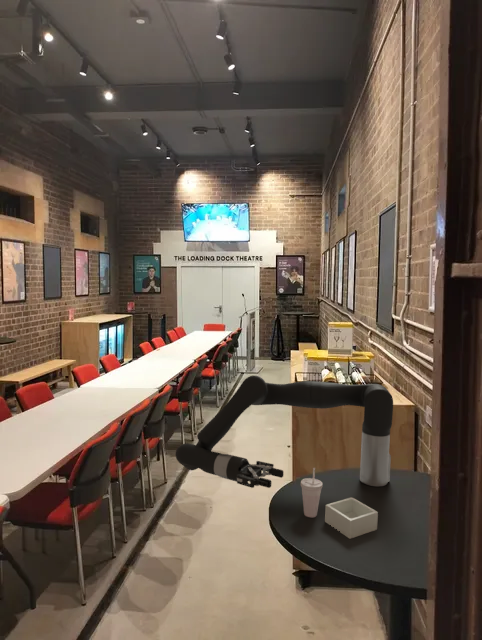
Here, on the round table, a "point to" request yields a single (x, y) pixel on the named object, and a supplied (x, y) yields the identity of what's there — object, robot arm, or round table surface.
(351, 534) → the box
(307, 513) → the smoothie
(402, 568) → the round table surface
